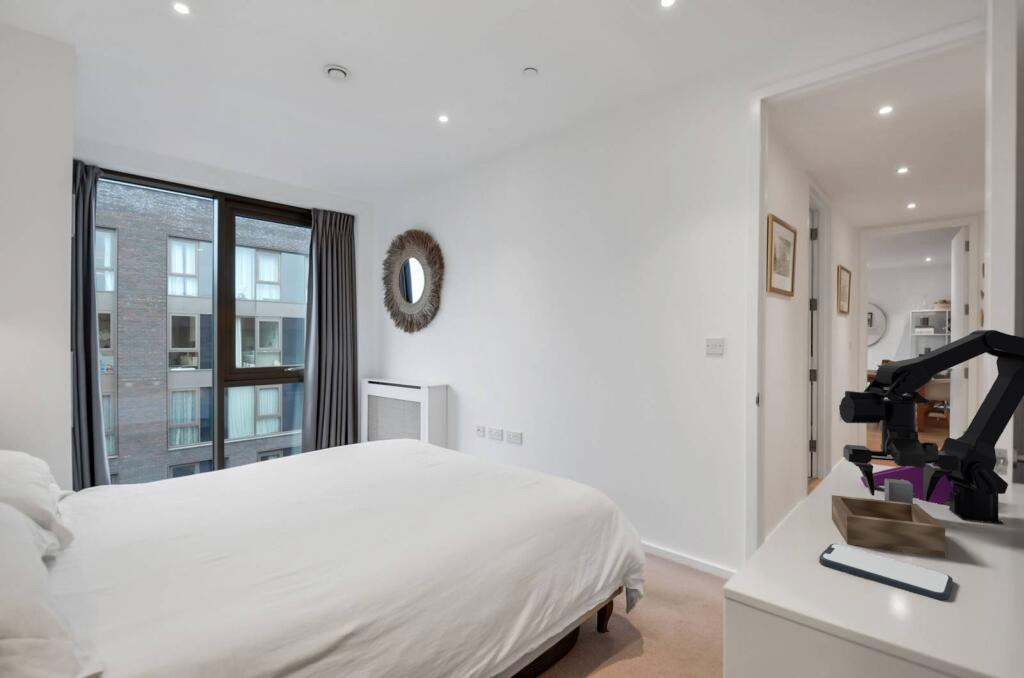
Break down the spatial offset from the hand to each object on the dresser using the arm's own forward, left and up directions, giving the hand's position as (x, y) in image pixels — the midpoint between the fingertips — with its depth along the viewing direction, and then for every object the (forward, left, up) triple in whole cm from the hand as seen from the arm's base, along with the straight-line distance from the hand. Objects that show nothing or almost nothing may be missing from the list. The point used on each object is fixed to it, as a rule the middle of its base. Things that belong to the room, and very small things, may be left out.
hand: (898, 497), depth 102 cm
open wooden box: (+7, +15, -4) cm, 17 cm away
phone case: (+11, +32, -4) cm, 34 cm away
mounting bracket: (-7, -19, -4) cm, 21 cm away
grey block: (0, -2, -4) cm, 4 cm away
